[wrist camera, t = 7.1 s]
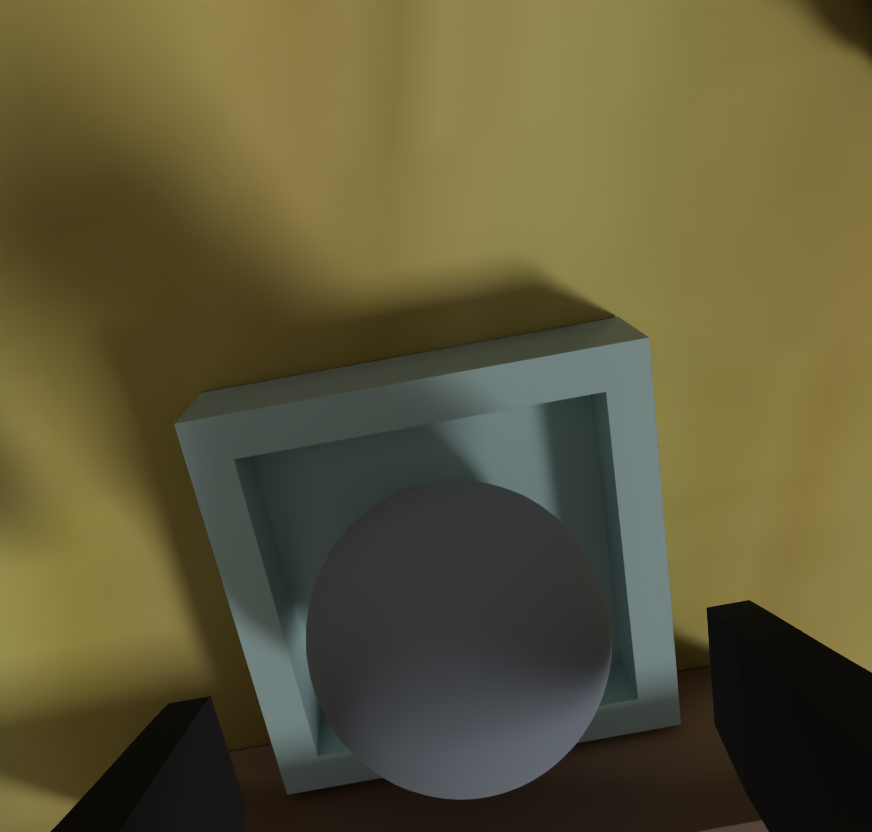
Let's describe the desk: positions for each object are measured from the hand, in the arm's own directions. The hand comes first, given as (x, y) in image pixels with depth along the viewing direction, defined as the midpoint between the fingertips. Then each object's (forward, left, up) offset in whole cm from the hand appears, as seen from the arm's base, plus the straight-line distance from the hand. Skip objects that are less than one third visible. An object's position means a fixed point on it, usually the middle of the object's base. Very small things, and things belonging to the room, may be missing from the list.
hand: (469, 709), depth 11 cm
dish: (0, 0, -5) cm, 5 cm away
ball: (0, 0, -4) cm, 4 cm away
